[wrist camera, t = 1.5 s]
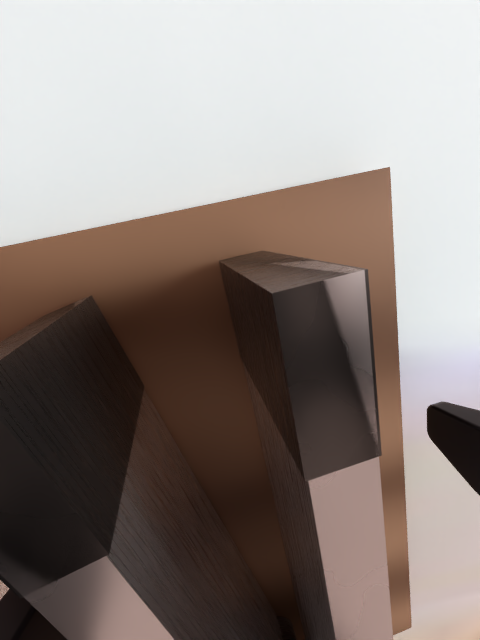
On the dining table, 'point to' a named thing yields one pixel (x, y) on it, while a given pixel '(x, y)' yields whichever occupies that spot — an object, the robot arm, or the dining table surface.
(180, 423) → the board
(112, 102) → the dining table surface
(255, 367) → the frame
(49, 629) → the robot arm
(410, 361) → the dining table surface
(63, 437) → the tongs arm
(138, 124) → the dining table surface
